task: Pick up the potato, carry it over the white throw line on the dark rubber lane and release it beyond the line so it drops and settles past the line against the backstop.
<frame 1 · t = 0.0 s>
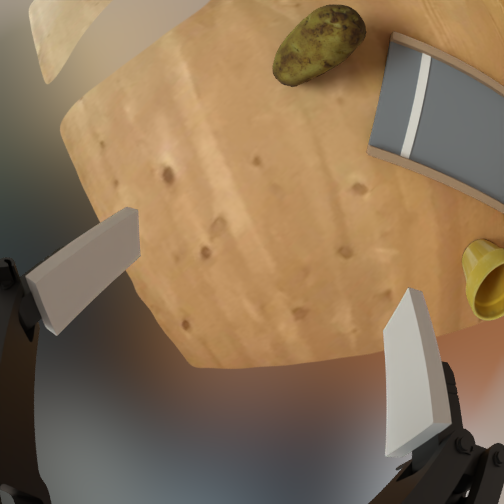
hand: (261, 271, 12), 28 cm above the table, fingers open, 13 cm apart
potato: (317, 50, 28), on the table
plant pot: (477, 256, 34), on the table
lane: (458, 124, 27), on the table
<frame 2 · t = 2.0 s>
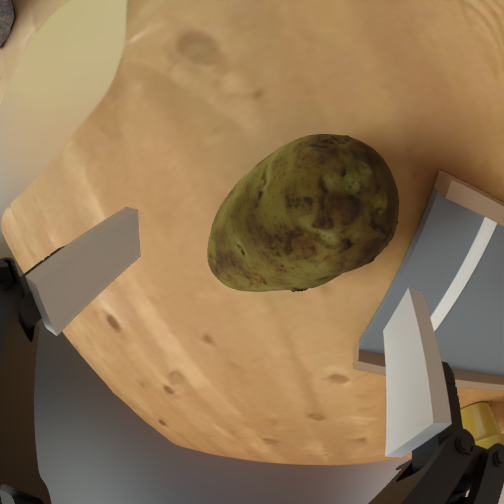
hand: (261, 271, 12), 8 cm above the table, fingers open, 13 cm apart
potato: (293, 199, 19), on the table
stone: (5, 25, 15), on the table
plant pot: (469, 412, 25), on the table
lane: (497, 309, 17), on the table
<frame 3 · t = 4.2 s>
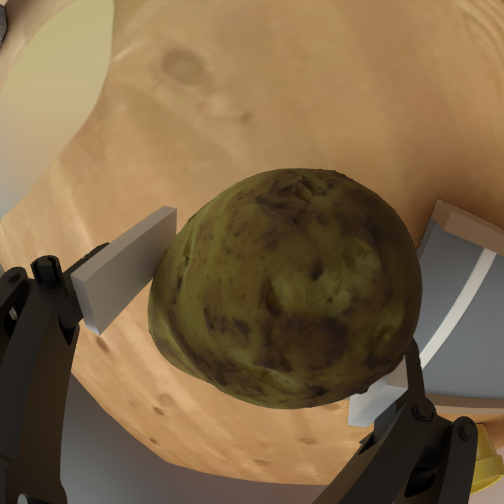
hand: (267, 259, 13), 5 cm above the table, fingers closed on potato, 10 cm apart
potato: (262, 252, 14), point 5 cm above the table, touching gripper
plant pot: (464, 433, 24), on the table
lane: (493, 336, 17), on the table
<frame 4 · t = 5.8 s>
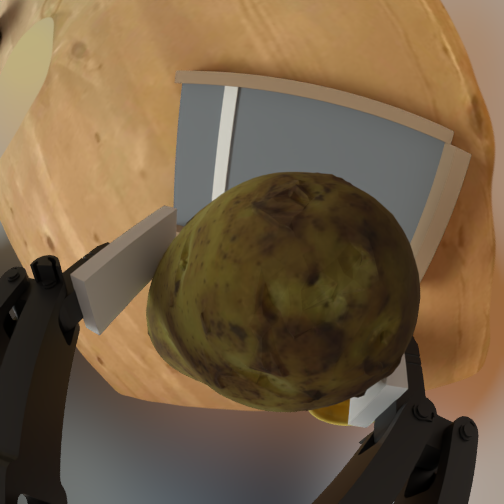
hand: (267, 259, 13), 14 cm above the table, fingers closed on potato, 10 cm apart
potato: (261, 254, 14), point 14 cm above the table, touching gripper
plant pot: (356, 339, 32), on the table
lane: (297, 178, 25), on the table
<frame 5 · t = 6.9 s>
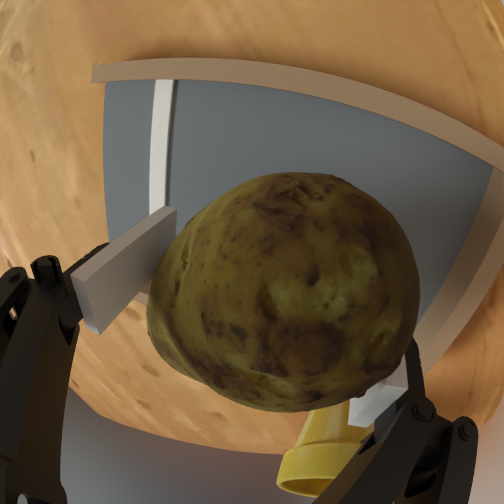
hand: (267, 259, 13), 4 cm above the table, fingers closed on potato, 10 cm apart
potato: (261, 254, 14), point 4 cm above the table, touching gripper
plant pot: (346, 403, 25), on the table
lane: (266, 216, 17), on the table
when the fingers open (3 cm above the table, at t = 7.6 s): potato drops 1 cm, resting on lane.
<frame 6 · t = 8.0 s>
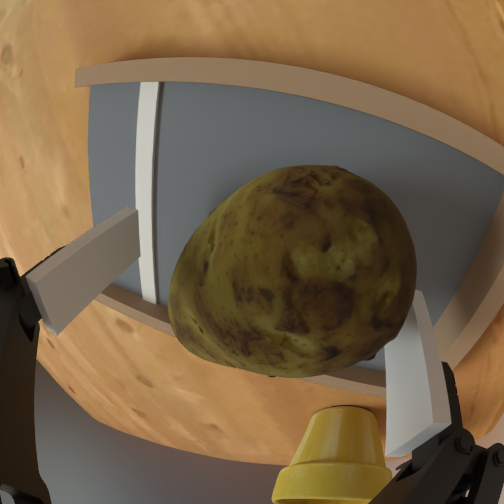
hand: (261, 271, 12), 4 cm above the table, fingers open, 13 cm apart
potato: (273, 245, 15), point 1 cm above the table, touching lane
plant pot: (344, 418, 23), on the table
lane: (261, 230, 16), on the table
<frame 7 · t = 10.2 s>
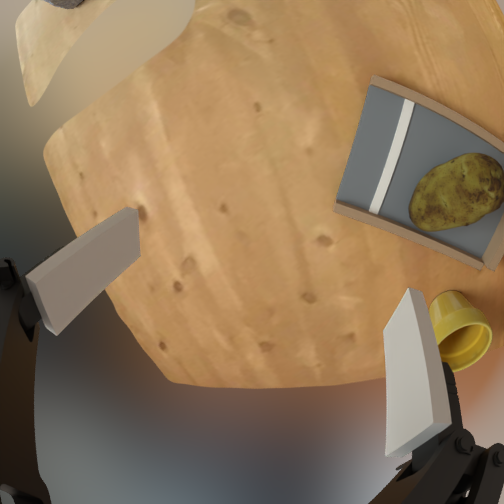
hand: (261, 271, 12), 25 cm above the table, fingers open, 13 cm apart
potato: (445, 183, 28), point 1 cm above the table, touching lane
plant pot: (446, 306, 36), on the table
lane: (438, 177, 29), on the table
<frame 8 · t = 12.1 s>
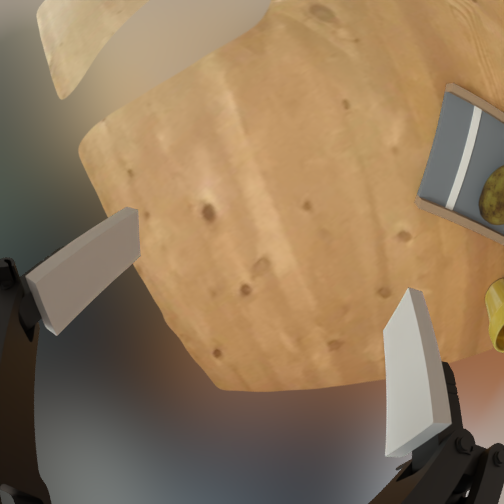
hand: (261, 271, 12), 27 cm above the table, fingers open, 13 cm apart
potato: (503, 181, 26), point 1 cm above the table, touching lane
plant pot: (498, 292, 34), on the table
lane: (497, 176, 26), on the table
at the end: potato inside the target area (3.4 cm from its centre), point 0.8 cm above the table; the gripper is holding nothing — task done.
